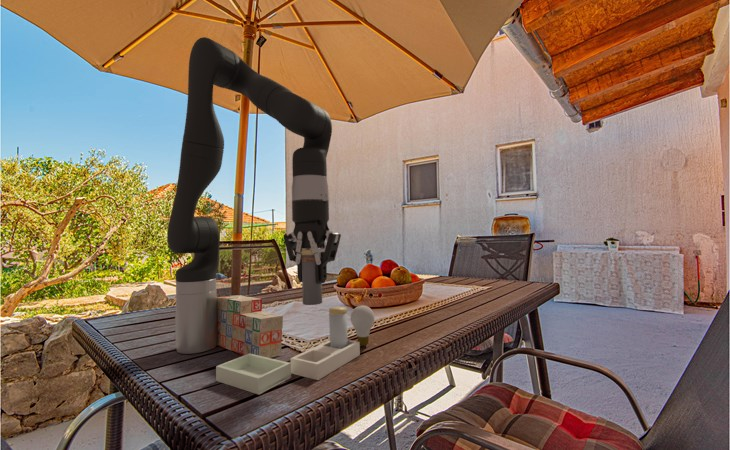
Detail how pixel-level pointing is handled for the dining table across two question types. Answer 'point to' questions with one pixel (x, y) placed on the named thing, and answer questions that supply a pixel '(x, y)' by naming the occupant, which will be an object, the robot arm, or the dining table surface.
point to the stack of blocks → (248, 327)
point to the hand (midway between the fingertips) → (312, 282)
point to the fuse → (338, 327)
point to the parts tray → (253, 373)
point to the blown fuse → (310, 279)
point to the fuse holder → (323, 359)
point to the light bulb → (362, 323)
